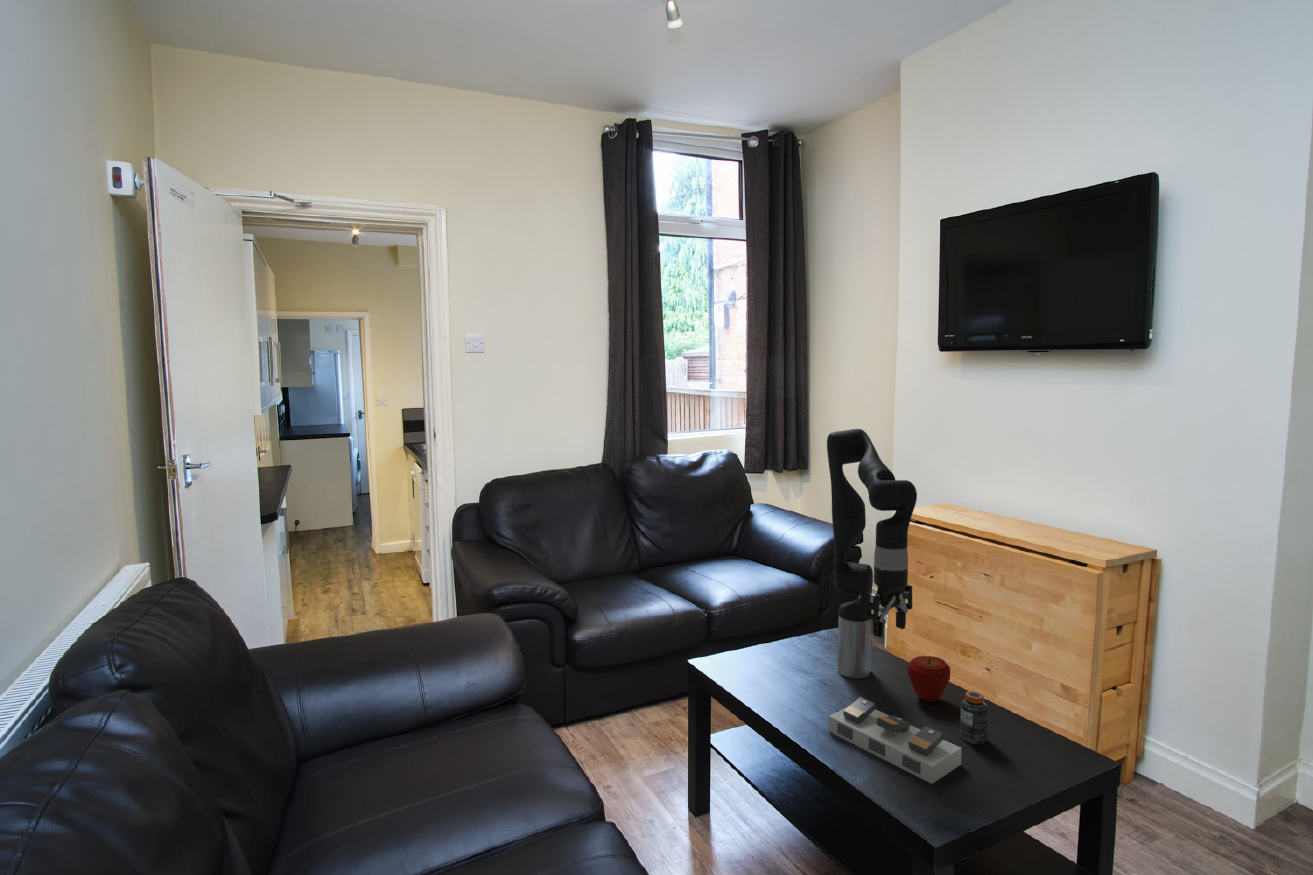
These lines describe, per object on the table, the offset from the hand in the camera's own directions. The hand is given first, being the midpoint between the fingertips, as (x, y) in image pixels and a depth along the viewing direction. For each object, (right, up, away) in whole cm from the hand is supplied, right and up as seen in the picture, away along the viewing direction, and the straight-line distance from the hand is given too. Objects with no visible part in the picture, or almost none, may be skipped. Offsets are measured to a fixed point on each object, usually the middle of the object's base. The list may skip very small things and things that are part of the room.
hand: (889, 632), depth 161 cm
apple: (+20, -26, +26) cm, 42 cm away
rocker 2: (+1, -24, +2) cm, 24 cm away
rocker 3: (+7, -25, -5) cm, 26 cm away
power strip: (+1, -28, +2) cm, 28 cm away
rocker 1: (-4, -24, +9) cm, 26 cm away
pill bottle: (+23, -28, +6) cm, 36 cm away
